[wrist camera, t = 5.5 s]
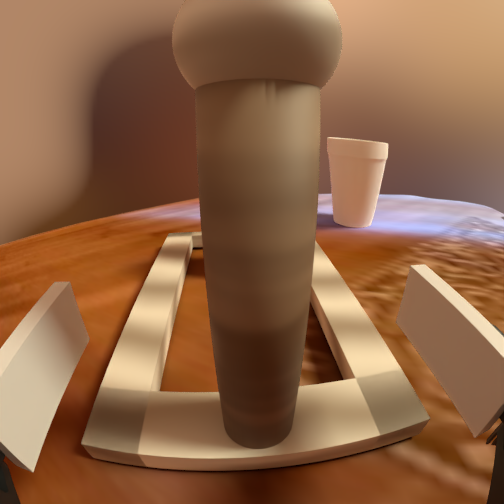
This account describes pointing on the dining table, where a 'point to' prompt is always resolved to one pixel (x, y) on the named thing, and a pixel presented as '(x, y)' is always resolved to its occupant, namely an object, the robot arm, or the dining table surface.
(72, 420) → the dining table surface
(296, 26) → the joystick on frame
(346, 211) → the foam cup
